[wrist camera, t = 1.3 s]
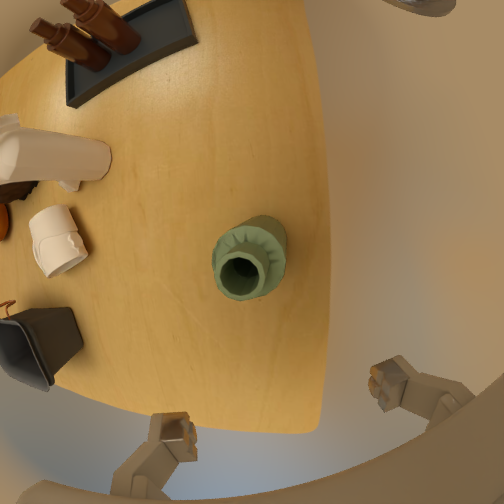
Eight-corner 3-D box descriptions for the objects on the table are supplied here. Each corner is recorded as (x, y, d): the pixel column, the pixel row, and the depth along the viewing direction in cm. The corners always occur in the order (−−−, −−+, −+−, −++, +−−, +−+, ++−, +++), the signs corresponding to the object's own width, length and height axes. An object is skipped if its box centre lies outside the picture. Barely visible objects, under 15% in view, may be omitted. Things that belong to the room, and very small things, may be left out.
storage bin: (41, 350, 48) (4, 376, 34) (20, 289, 45) (-23, 308, 31) (98, 357, 44) (54, 395, 30) (72, 282, 42) (16, 308, 28)
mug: (78, 200, 38) (45, 202, 31) (98, 249, 40) (66, 260, 32) (44, 232, 41) (14, 238, 33) (61, 276, 42) (32, 288, 34)
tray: (184, -4, 29) (178, -12, 27) (198, 43, 31) (192, 34, 28) (74, 58, 33) (65, 54, 31) (76, 108, 35) (66, 105, 33)
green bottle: (279, 209, 35) (271, 221, 17) (291, 254, 36) (294, 307, 18) (235, 222, 36) (185, 245, 18) (247, 265, 37) (212, 324, 19)
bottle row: (139, 27, 31) (83, -23, 14) (142, 46, 31) (80, -6, 14) (89, 58, 32) (25, 25, 15) (90, 77, 33) (21, 46, 16)
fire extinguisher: (65, 175, 38) (-55, 178, 14) (107, 124, 35) (-21, 90, 11) (81, 204, 38) (-48, 221, 14) (125, 153, 36) (-17, 129, 12)
